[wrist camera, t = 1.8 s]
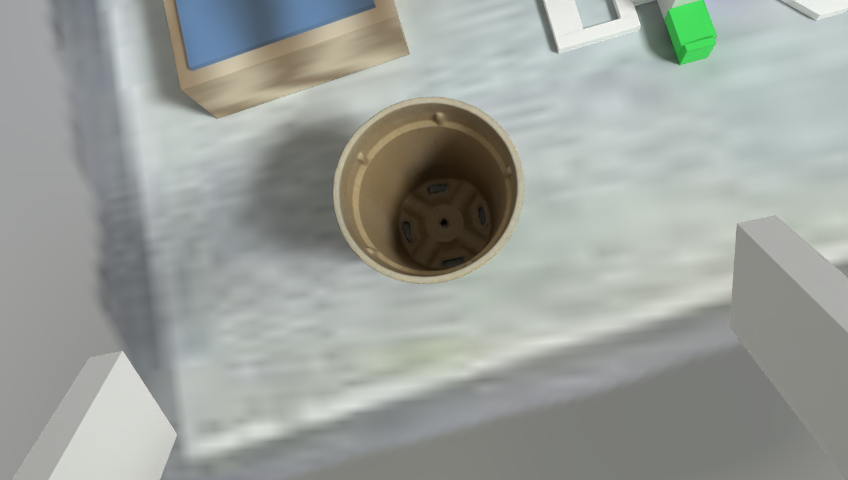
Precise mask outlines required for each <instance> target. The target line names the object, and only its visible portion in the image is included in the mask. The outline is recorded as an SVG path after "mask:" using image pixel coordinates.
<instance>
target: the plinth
mask: <svg viewBox="0 0 848 480" xmlns="http://www.w3.org/2000/svg"><path fill="white" fill-rule="evenodd" d="M163 2H164V7H165V12H166V17H167V22H168V27H169V32H170V37H171V43H172V48H173V53H174V58H175V63H176V68H177V73H178V78H179V83H180V88H181V91H182V92H184V93H185V94H186V95H188V96H189V97H190V98H192V99H193V100H194V101H195V102H197V103H198V104H199V105H201V106H202V107H203V108H205V109H206V110H207V111H208V112H210V113H211V114H212V115H214V116H215V117H216V118H221V117H224V116H227V115H230V114H233V113H236V112H239V111H242V110H245V109H248V108H251V107H254V106H257V105H260V104H263V103H266V102H269V101H272V100H275V99H278V98H280V97H283V96H286V95H289V94H292V93H295V92H298V91H301V90H304V89H307V88H310V87H313V86H316V85H319V84H322V83H325V82H328V81H331V80H334V79H337V78H340V77H343V76H346V75H349V74H352V73H355V72H358V71H361V70H364V69H367V68H370V67H373V66H376V65H379V64H382V63H385V62H388V61H391V60H394V59H397V58H400V57H402V56H405V55H408V54H410V53H409V50H408V46H407V43H406V40H405V36H404V33H403V29H402V26H401V23H400V19H399V16H398V12H397V9H396V6H395V2H394V0H163Z"/></svg>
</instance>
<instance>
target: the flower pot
mask: <svg viewBox="0 0 848 480" xmlns="http://www.w3.org/2000/svg"><path fill="white" fill-rule="evenodd" d="M442 184H444V185H447V189H446V190H445V191H440V192H435V193H432V194H430V193H429V191H428V189H429V188H430V187H431V186H433V185H442ZM523 198H524V174H523V169H522V165H521V161H520V158H519V156H518V153H517V151H516V148H515V146H514V144H513V143H512V141H511V139H510V137H509V136H508V134H507V133H506V132H505V131H504V129H503V128H502V127H501V126H500V125H499V124H498V123H497V122H496V121H495V120H494V119H492V118H491V117H490V116H489V115H487V114H485V113H484V112H483V111H481V110H480V109H478V108H476V107H474V106H471V105H469V104H466V103H464V102H461V101H458V100H454V99H449V98H444V97H420V98H415V99H409V100H406V101H402V102H400V103H397V104H394V105H392V106H390V107H388V108H386V109H384V110H382V111H380V112H378V113H377V114H376V115H374V116H373V117H372V118H371V119H370V120H368V121H367V122H365V123H364V124H363V125H362V126H361V127H360V128H359V129H358V130H357V131H356V132H355V133H354V135H353V136H352V137H351V139H350V140H349V142H348V143H347V145H346V147H345V148H344V150H343V152H342V154H341V156H340V159H339V162H338V165H337V167H336V170H335V176H334V183H333V203H334V210H335V215H336V219H337V222H338V225H339V228H340V230H341V232H342V234H343V236H344V238H345V240H346V242H347V243H348V244H349V246H350V247H351V248H352V250H353V251H354V252H355V253H356V254H357V255H358V256H359V258H360V259H362V260H363V261H364V262H365V263H366V264H367V265H369V266H370V267H372V268H373V269H375V270H376V271H378V272H380V273H382V274H384V275H386V276H388V277H391V278H394V279H396V280H400V281H404V282H409V283H418V284H432V283H441V282H446V281H450V280H454V279H457V278H459V277H462V276H464V275H466V274H469V273H471V272H472V271H474V270H476V269H477V268H479V267H481V266H482V265H484V264H485V263H486V262H488V261H489V260H490V259H491V258H492V257H494V256H495V255H496V254H497V253H498V252H499V251H500V250H501V248H502V247H503V246H504V245H505V243H506V242H507V241H508V239H509V238H510V236H511V234H512V232H513V231H514V229H515V227H516V224H517V222H518V219H519V216H520V213H521V209H522V205H523ZM480 207H482V209H483V212H484V216H485V223H484V224H483V225H482V224H481V219H480V218H479V217H478V216H479V210H478V209H479V208H480ZM443 219H445V220H447V222H448V223H447V225H446V226H442V225H441V221H442V220H443ZM405 222H408V223H409V224H410V232H411V236H412V241H411V242H409V240H408V238H407V237H406V235H405V231H404V228H403V225H404V223H405ZM459 257H462V258H463V259H464V261H463V263H461V264H459V265H457V266H452V267H448V266H445V265H444V264H443V262H444V261H446V260H451V259H455V258H459Z"/></svg>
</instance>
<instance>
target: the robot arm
mask: <svg viewBox="0 0 848 480" xmlns="http://www.w3.org/2000/svg"><path fill="white" fill-rule="evenodd" d="M730 328H731V330H732V331H733V332H734V334H735V335H736V336H737V337H738V339H739V340H740V341H741V343H742V344H743V345H744V347H745V348H746V349H747V351H748V352H749V353H750V354H751V356H752V357H753V358H754V360H755V361H756V362H757V364H758V365H759V366H760V368H761V369H762V370H763V372H764V373H765V374H766V375H767V377H768V378H769V379H770V380H771V382H772V383H773V385H774V386H775V387H776V389H777V390H778V391H779V393H780V394H781V395H782V396H783V398H784V399H785V400H786V402H787V403H788V404H789V406H790V407H791V408H792V409H793V411H794V412H795V413H796V415H797V416H798V417H799V419H800V420H801V421H802V423H803V424H804V425H805V427H806V428H807V429H808V431H809V432H810V433H811V434H812V436H813V437H814V438H815V440H816V441H817V442H818V444H819V445H820V446H821V447H822V449H823V450H824V451H825V453H826V454H827V455H828V457H829V458H830V459H831V461H832V462H833V463H834V465H835V466H836V467H837V468H838V470H839V471H840V472H841V473H842V475H843V476H844V478H845V479H846V480H848V278H847V277H846V276H845V275H844V274H843V273H842V272H841V271H839V270H838V269H837V268H836V267H835V266H834V265H832V264H831V263H830V262H829V261H828V260H827V259H825V258H824V257H823V256H822V255H821V254H820V253H819V252H817V251H816V250H815V249H814V248H813V247H812V246H810V245H809V244H808V243H807V242H806V241H805V240H803V239H802V238H801V237H800V236H799V235H798V234H797V233H795V232H794V231H793V230H792V229H791V228H790V227H788V226H787V225H786V224H785V223H784V222H783V221H782V220H780V219H779V218H778V217H777V216H771V217H766V218H762V219H757V220H752V221H747V222H742V223H737V230H736V244H735V258H734V272H733V287H732V301H731V315H730ZM176 436H177V434H176V432H175V431H174V429H173V428H172V426H171V424H170V423H169V421H168V420H167V418H166V417H165V415H164V414H163V412H162V411H161V409H160V408H159V406H158V404H157V403H156V401H155V400H154V398H153V397H152V395H151V394H150V392H149V391H148V389H147V388H146V386H145V384H144V383H143V381H142V380H141V378H140V377H139V375H138V374H137V372H136V371H135V369H134V368H133V366H132V364H131V363H130V361H129V360H128V358H127V357H126V355H125V354H124V352H123V351H118V352H113V353H108V354H104V355H99V356H94V357H89V359H88V360H87V362H86V363H85V365H84V367H83V368H82V370H81V371H80V373H79V374H78V376H77V378H76V379H75V381H74V383H73V384H72V386H71V387H70V389H69V390H68V392H67V394H66V395H65V397H64V398H63V400H62V401H61V403H60V404H59V406H58V408H57V409H56V411H55V412H54V414H53V416H52V417H51V419H50V420H49V422H48V423H47V425H46V427H45V428H44V430H43V431H42V433H41V434H40V436H39V438H38V439H37V441H36V442H35V444H34V445H33V447H32V449H31V450H30V452H29V453H28V455H27V456H26V458H25V460H24V461H23V463H22V464H21V466H20V468H19V469H18V471H17V472H16V474H15V475H14V477H13V479H12V480H160V478H161V475H162V473H163V470H164V467H165V465H166V462H167V460H168V457H169V454H170V452H171V449H172V447H173V444H174V441H175V439H176Z"/></svg>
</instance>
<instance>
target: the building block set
mask: <svg viewBox="0 0 848 480" xmlns="http://www.w3.org/2000/svg"><path fill="white" fill-rule="evenodd" d="M542 1H543V4H544V7H545V10H546V14H547V17H548V20H549V24H550V27H551V30H552V33H553V37H554V40H555V44H556V47H557V50H558V53H562V52H566V51H569V50H573V49H576V48H580V47H583V46H587V45H590V44H594V43H597V42H601V41H604V40H608V39H611V38H615V37H618V36H622V35H625V34H629V33H632V32H636V31H639V30H640V27H641V24H640V22H639V19H638V16H637V13H636V10H635V7H634V6H637V5H640V4H644V3H647V2H651V1H654V0H612V1H613V4H614V7H615V10H616V13H617V16H618V19H617V20H613V21H610V22H606V23H603V24H600V25H596V26H593V27H589V28H586V29H583V26H582V23H581V20H580V17H579V14H578V10H577V7H576V4H575V1H574V0H542ZM657 1H658V4H659V7H660V10H661V13H662V16H663V18H664V21H665V23H666V26H667V29H668V32H669V35H670V38H671V40H672V43H673V47H674V50H675V53H676V55H677V58H678V61H679V64H680V65H682V64H686V63H689V62H693V61H697V60H700V59H704V58H707V57H708V56H709V54H710V52H711V50H712V49H713V47H714V45H715V44H716V43H715V40H714V39H715V38H716V36H717V35H716V32H715V29H714V27H713V24H712V21H711V19H710V16H709V13H708V11H707V8H706V5H705V2H704V0H657ZM781 1H782V2H784V3H786V4H788V5H789V6H791V7H793V8H795V9H796V10H798V11H800V12H802V13H804V14H805V15H807V16H809V17H811V18H812V19H814V20H820V19H823V18H827V17H830V16H834V15H838V14H841V13H844V12H845V11H846V10H847V9H848V0H781Z"/></svg>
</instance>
